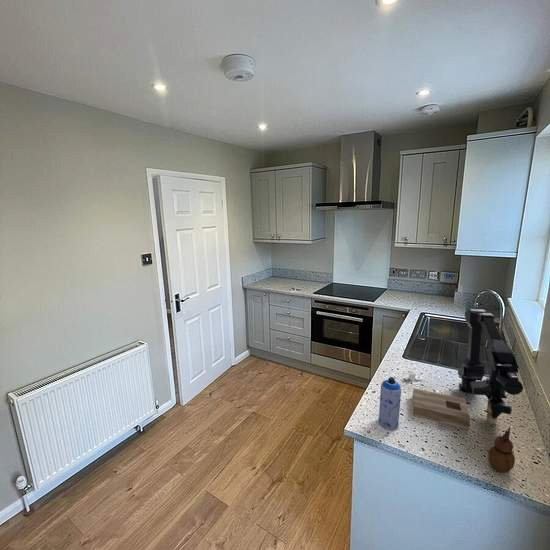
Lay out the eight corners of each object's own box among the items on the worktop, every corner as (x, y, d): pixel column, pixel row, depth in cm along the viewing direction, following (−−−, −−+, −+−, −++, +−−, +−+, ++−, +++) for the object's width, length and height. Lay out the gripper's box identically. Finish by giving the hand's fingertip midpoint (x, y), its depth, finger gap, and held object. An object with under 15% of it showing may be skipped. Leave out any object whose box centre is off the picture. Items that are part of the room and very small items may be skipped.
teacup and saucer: (422, 378, 151) (423, 371, 150) (421, 386, 144) (422, 379, 143) (403, 374, 155) (404, 367, 154) (402, 382, 148) (403, 374, 147)
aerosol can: (400, 431, 114) (404, 385, 110) (379, 429, 116) (383, 383, 112) (396, 417, 122) (399, 374, 118) (376, 416, 123) (379, 372, 119)
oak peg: (484, 416, 122) (487, 397, 120) (496, 419, 120) (499, 399, 118) (486, 423, 118) (489, 403, 116) (498, 425, 117) (502, 405, 115)
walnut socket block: (412, 396, 136) (413, 388, 135) (463, 408, 127) (464, 398, 127) (412, 415, 123) (413, 406, 122) (469, 429, 115) (470, 419, 114)
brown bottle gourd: (502, 460, 100) (509, 422, 97) (516, 475, 95) (524, 435, 92) (482, 461, 100) (489, 423, 97) (496, 476, 94) (502, 436, 91)
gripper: (469, 364, 127) (465, 396, 130) (478, 387, 110) (473, 423, 114) (501, 369, 123) (495, 403, 126) (515, 394, 106) (508, 432, 109)
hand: (492, 414), depth 119 cm, fingers closed on oak peg, 4 cm apart
